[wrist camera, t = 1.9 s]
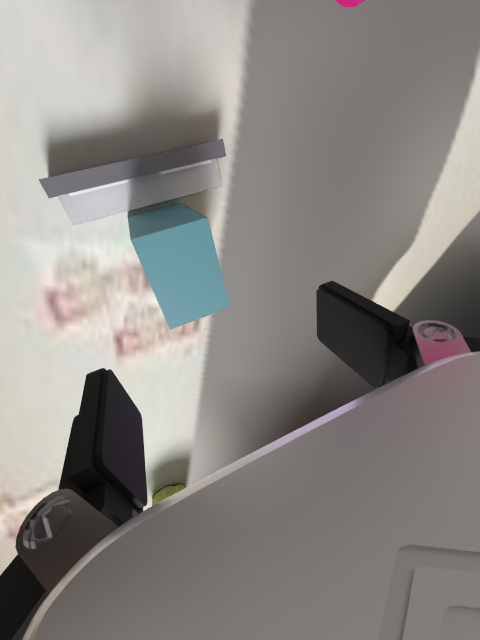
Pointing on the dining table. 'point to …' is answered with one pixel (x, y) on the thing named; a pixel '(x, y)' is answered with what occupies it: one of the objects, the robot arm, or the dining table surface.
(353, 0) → the pepper mill
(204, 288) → the tea box
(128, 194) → the rail
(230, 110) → the dining table surface
